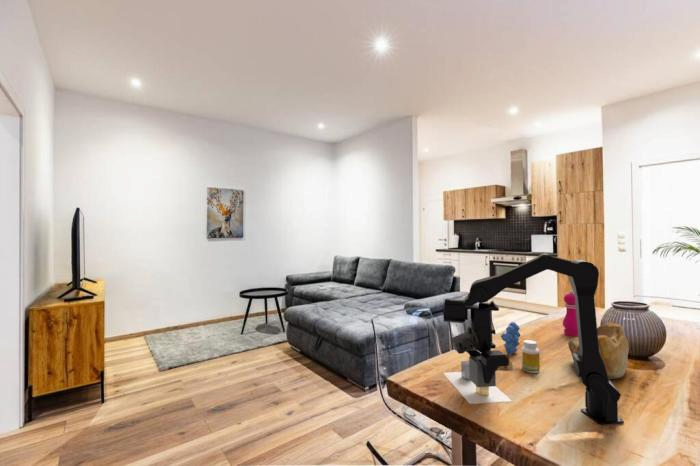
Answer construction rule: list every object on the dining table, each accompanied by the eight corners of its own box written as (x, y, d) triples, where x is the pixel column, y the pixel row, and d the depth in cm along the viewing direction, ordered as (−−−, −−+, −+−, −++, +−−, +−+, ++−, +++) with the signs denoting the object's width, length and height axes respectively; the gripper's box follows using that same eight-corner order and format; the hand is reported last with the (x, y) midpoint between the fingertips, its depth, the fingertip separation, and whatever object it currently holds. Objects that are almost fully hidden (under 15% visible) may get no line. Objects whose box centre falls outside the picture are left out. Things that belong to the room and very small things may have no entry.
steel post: (473, 379, 105) (472, 364, 105) (464, 380, 105) (464, 364, 105) (469, 376, 107) (469, 360, 107) (461, 376, 107) (461, 361, 107)
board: (512, 405, 92) (512, 401, 92) (469, 408, 91) (469, 403, 91) (478, 374, 112) (478, 370, 112) (443, 376, 111) (443, 372, 111)
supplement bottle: (542, 374, 111) (541, 344, 111) (524, 373, 112) (524, 343, 112) (536, 367, 116) (536, 339, 116) (519, 366, 117) (519, 338, 117)
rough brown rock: (582, 355, 129) (577, 316, 129) (638, 365, 115) (632, 321, 116) (556, 374, 114) (551, 329, 115) (616, 387, 101) (610, 337, 102)
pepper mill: (559, 333, 153) (558, 289, 153) (569, 331, 156) (568, 288, 156) (575, 337, 147) (574, 292, 147) (585, 335, 150) (584, 290, 150)
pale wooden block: (488, 395, 95) (488, 377, 95) (480, 396, 95) (479, 378, 95) (484, 391, 97) (484, 373, 97) (475, 391, 97) (475, 374, 97)
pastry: (484, 371, 114) (484, 360, 114) (483, 364, 121) (483, 353, 121) (514, 375, 111) (514, 363, 111) (512, 367, 117) (512, 356, 117)
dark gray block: (495, 386, 94) (495, 362, 94) (477, 387, 93) (477, 363, 93) (486, 378, 99) (486, 355, 99) (469, 379, 98) (469, 356, 98)
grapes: (506, 347, 137) (505, 317, 137) (524, 351, 132) (523, 320, 132) (495, 355, 128) (494, 323, 128) (514, 359, 124) (513, 327, 124)
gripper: (442, 317, 105) (443, 367, 105) (468, 336, 86) (469, 396, 86) (476, 316, 106) (477, 365, 106) (509, 334, 87) (510, 394, 87)
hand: (482, 379), depth 96 cm, fingers closed on dark gray block, 5 cm apart
